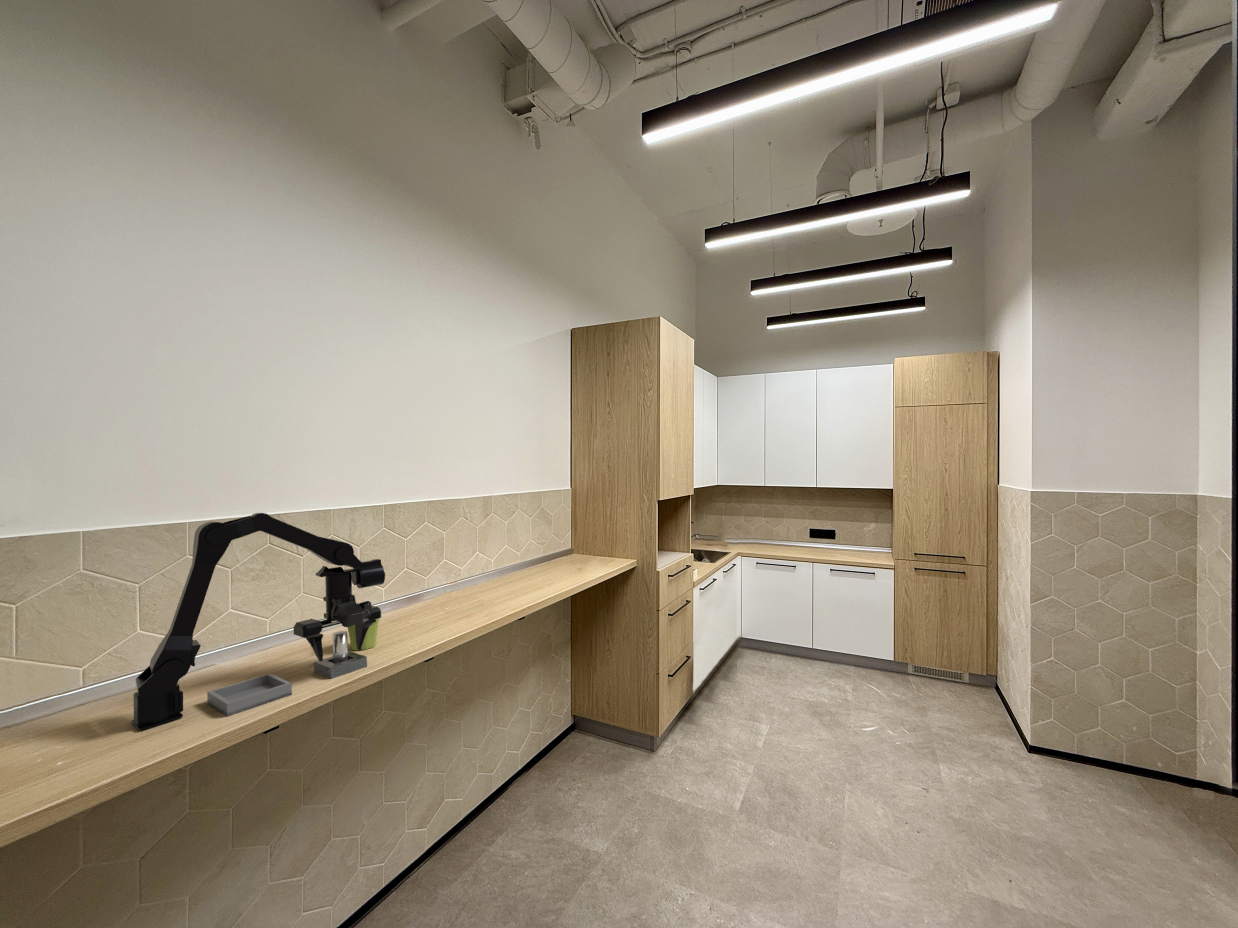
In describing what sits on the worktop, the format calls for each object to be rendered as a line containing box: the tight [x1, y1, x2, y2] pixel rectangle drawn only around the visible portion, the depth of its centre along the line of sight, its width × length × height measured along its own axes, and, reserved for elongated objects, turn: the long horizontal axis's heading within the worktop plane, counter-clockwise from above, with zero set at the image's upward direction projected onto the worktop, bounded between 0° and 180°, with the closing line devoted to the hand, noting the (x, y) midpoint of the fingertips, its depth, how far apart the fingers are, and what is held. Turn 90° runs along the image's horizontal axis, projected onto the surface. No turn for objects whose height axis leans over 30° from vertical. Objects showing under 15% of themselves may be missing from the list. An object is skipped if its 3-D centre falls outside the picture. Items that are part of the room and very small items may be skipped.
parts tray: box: [206, 672, 293, 717], centre depth 107 cm, size 12×12×2 cm
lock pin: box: [332, 630, 349, 664], centre depth 123 cm, size 3×3×9 cm
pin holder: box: [313, 650, 368, 679], centre depth 122 cm, size 9×9×2 cm
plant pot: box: [347, 618, 381, 651], centre depth 139 cm, size 9×9×9 cm
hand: (340, 654), depth 122 cm, fingers open, 9 cm apart
